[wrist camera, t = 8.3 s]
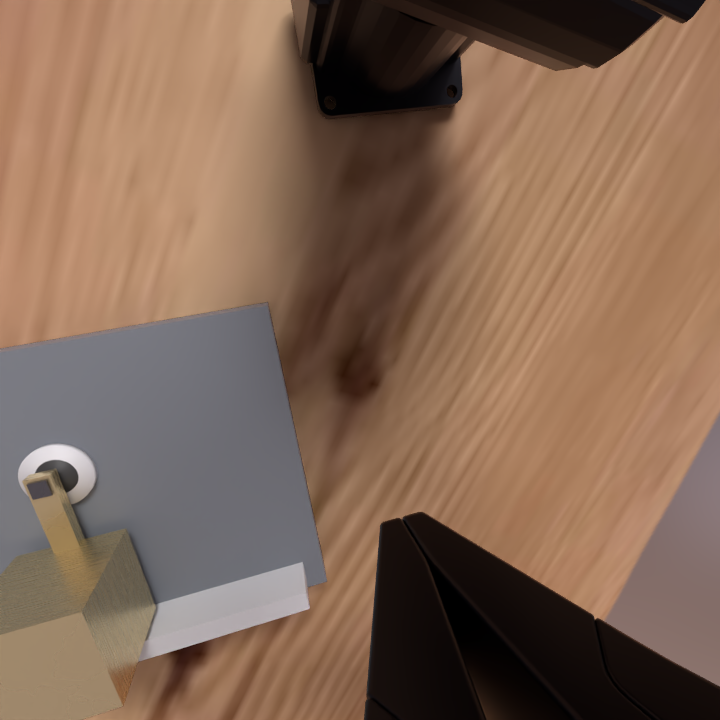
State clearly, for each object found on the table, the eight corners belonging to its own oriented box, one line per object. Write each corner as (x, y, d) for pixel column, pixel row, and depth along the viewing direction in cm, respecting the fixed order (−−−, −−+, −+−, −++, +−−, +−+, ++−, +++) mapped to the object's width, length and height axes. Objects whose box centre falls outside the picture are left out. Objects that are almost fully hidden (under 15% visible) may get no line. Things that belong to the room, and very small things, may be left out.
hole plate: (267, 302, 19) (266, 323, 12) (323, 561, 23) (343, 673, 16) (-355, 410, 15) (-805, 519, 9) (-151, 698, 19) (-356, 912, 13)
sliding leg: (100, 458, 17) (43, 525, 12) (156, 607, 19) (123, 706, 15) (-18, 485, 16) (-121, 565, 12) (54, 636, 18) (-11, 750, 14)
